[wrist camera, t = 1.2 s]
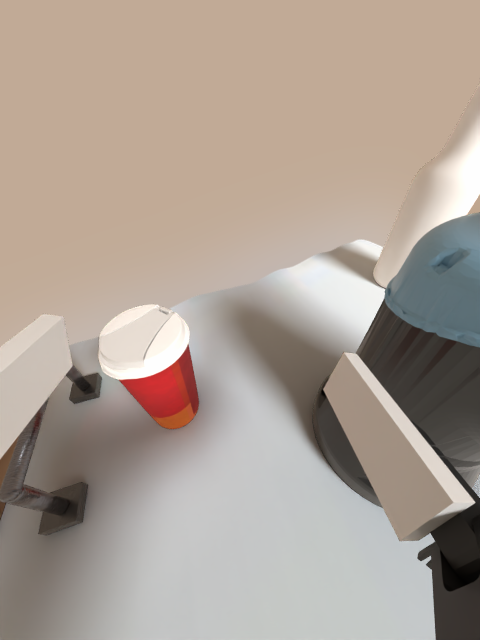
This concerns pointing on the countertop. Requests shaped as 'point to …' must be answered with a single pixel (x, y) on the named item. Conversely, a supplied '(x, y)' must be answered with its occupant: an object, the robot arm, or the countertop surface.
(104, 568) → the countertop surface
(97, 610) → the countertop surface
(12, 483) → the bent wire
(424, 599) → the countertop surface
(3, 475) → the walnut board
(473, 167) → the alcohol
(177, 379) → the paper cup
